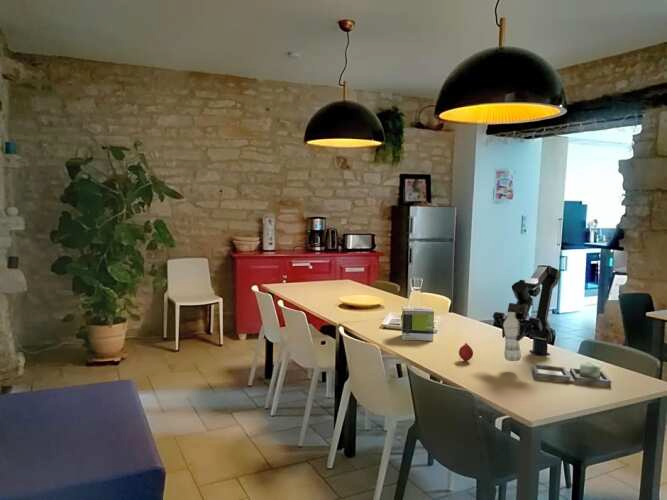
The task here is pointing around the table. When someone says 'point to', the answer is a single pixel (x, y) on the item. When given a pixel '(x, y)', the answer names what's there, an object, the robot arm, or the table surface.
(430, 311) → the tea box
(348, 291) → the table surface
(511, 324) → the plastic bottle
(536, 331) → the robot arm
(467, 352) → the onion
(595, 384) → the grey flat tray
